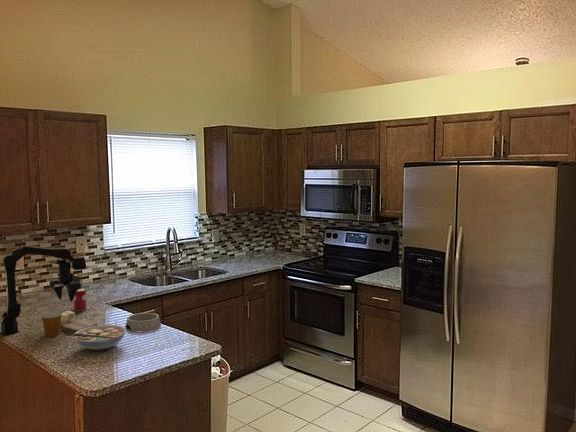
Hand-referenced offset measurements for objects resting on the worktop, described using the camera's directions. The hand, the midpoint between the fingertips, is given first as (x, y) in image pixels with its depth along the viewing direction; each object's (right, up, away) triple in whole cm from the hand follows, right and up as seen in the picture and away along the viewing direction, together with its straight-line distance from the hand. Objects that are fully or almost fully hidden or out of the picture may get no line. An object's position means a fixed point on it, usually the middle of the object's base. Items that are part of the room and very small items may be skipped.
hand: (65, 300), depth 261 cm
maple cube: (0, -13, +1) cm, 13 cm away
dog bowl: (+42, -14, -2) cm, 44 cm away
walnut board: (+10, -14, -7) cm, 19 cm away
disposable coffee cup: (+1, -15, -17) cm, 22 cm away
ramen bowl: (+32, -16, -34) cm, 49 cm away
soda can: (-4, -11, +28) cm, 30 cm away
